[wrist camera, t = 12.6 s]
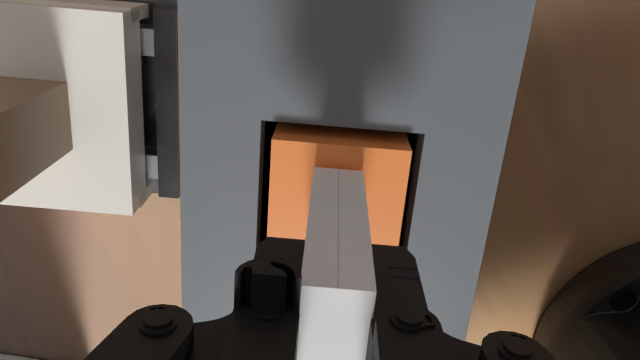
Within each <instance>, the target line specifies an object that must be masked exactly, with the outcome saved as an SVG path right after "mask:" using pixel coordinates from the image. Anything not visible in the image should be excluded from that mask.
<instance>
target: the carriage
mask: <svg viewBox="0 0 640 360" xmlns="http://www.w3.org/2000/svg"><path fill="white" fill-rule="evenodd" d="M148 17H149V9H148V3H136V2H124V1H112V0H0V204H2V205H14V206H25V207H37V208H49V209H61V210H73V211H85V212H97V213H108V214H120V215H132V216H133V215H134V213H135V212H136V211H137V210H138V208H141V206H142V205H143V204H144V203H145V201H146V200H147V199H148V198H149V196H150V195H151V194H152V192H153V191H154V190H155V188H154V179H148V178H146V173H145V147H144V122H143V97H142V71H141V46H140V21H139V20H142V19H145V18H148Z"/></svg>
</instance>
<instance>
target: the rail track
mask: <svg viewBox="0 0 640 360" xmlns="http://www.w3.org/2000/svg"><path fill="white" fill-rule="evenodd" d="M112 1H124V2H136V3H148V9H149V17H148V18H145V19H142V20H139V21H140V46H141V71H142V97H143V122H144V147H145V173H146V178H148V179H154V188H155V190H154V191H153V192H152V193H159V197H169V198H179V197H180V137H179V71H178V5H177V0H112Z"/></svg>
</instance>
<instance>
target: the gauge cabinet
mask: <svg viewBox="0 0 640 360" xmlns="http://www.w3.org/2000/svg"><path fill="white" fill-rule="evenodd" d="M177 5H178V71H179V137H180V203H181V269H182V308H183V309H185V310H187V311H188V312H189V313H190V314H191V315H192V317H193V322H194V323H196V322H204V321H210V320H215V319H219V318H222V317H224V316H227V315H228V314H230V313H232V312H233V308H234V277H235V271H236V269H237V268H238V267H239V265H241V264H243V263H245V262H247V261H249V260H253V259H254V255H255V251H256V248H257V245H258V244H260V243H261V242H262V241H263V240H264V239H266V238H267V223H268V204H262V187H263V164H264V141H265V121H277V122H289V123H300V124H312V125H324V126H336V127H348V128H360V129H372V130H384V131H396V132H407V133H408V137H407V138H408V141H409V144H410V146H411V149H412V156H411V163H410V170H409V177H408V184H407V191H406V198H405V204H404V211H403V218H402V225H401V232H400V239H399V246H403V247H405V248H406V249H407V250H408V251H409V252H410V253H411V254H412V255H413V256H414V257H415V259H416V263H417V267H418V271H419V275H420V281H421V283H422V287H423V291H424V295H425V299H426V303H427V307H428V310H429V311H430V312H431V313H433V314H434V315H435V316H436V317H437V318H438V320H439V321H440V323H441V325H442V329H443V332H445V333H447V334H448V335H450V336H452V337H454V338H457V339H460V340H462V341H465V339H466V334H467V329H468V324H469V320H470V315H471V310H472V305H473V301H474V296H475V291H476V286H477V282H478V277H479V272H480V267H481V262H482V258H483V253H484V248H485V243H486V239H487V234H488V229H489V224H490V220H491V215H492V210H493V205H494V201H495V196H496V191H497V186H498V181H499V177H500V172H501V167H502V162H503V158H504V153H505V148H506V143H507V139H508V134H509V129H510V124H511V120H512V115H513V110H514V105H515V100H516V96H517V91H518V86H519V81H520V77H521V72H522V67H523V62H524V58H525V53H526V48H527V43H528V38H529V34H530V29H531V24H532V19H533V15H534V10H535V5H536V0H177Z"/></svg>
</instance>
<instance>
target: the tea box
mask: <svg viewBox="0 0 640 360" xmlns="http://www.w3.org/2000/svg"><path fill="white" fill-rule="evenodd" d="M0 360H39V359H32V358H26V357H21V356H14V355H7V354H0Z"/></svg>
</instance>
